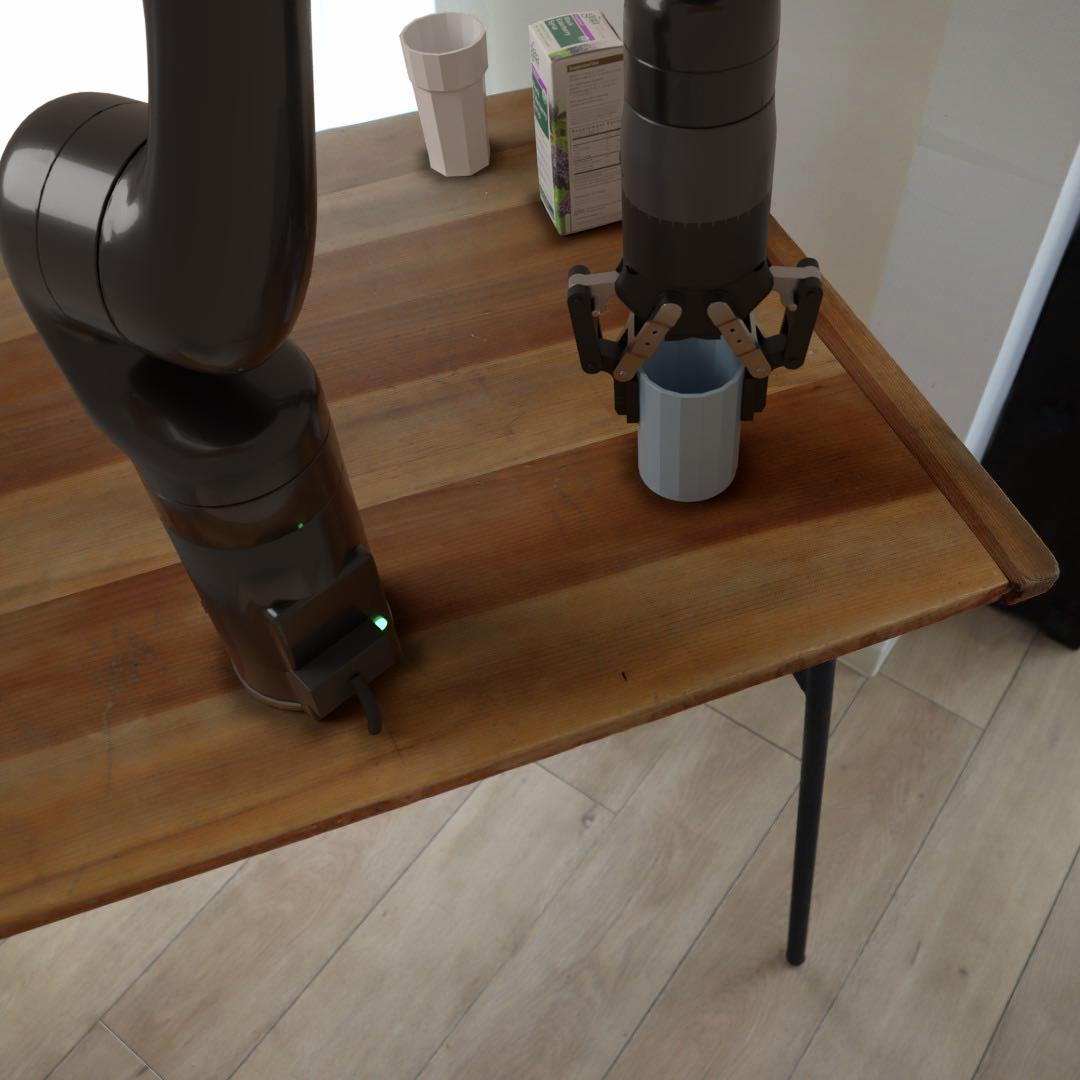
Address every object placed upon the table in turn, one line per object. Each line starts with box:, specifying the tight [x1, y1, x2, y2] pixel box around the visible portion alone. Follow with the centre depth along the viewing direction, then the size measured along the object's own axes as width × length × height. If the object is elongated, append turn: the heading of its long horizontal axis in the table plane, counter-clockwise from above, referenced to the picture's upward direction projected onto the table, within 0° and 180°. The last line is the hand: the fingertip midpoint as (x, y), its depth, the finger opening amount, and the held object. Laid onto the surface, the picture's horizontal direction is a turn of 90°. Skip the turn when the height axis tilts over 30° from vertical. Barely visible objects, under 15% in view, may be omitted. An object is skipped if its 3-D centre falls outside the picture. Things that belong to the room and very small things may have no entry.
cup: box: [398, 10, 491, 178], centre depth 94 cm, size 7×7×11 cm
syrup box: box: [528, 9, 624, 236], centre depth 87 cm, size 6×6×14 cm
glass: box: [637, 335, 745, 503], centre depth 71 cm, size 6×6×9 cm
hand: (689, 411), depth 71 cm, fingers closed on glass, 6 cm apart
